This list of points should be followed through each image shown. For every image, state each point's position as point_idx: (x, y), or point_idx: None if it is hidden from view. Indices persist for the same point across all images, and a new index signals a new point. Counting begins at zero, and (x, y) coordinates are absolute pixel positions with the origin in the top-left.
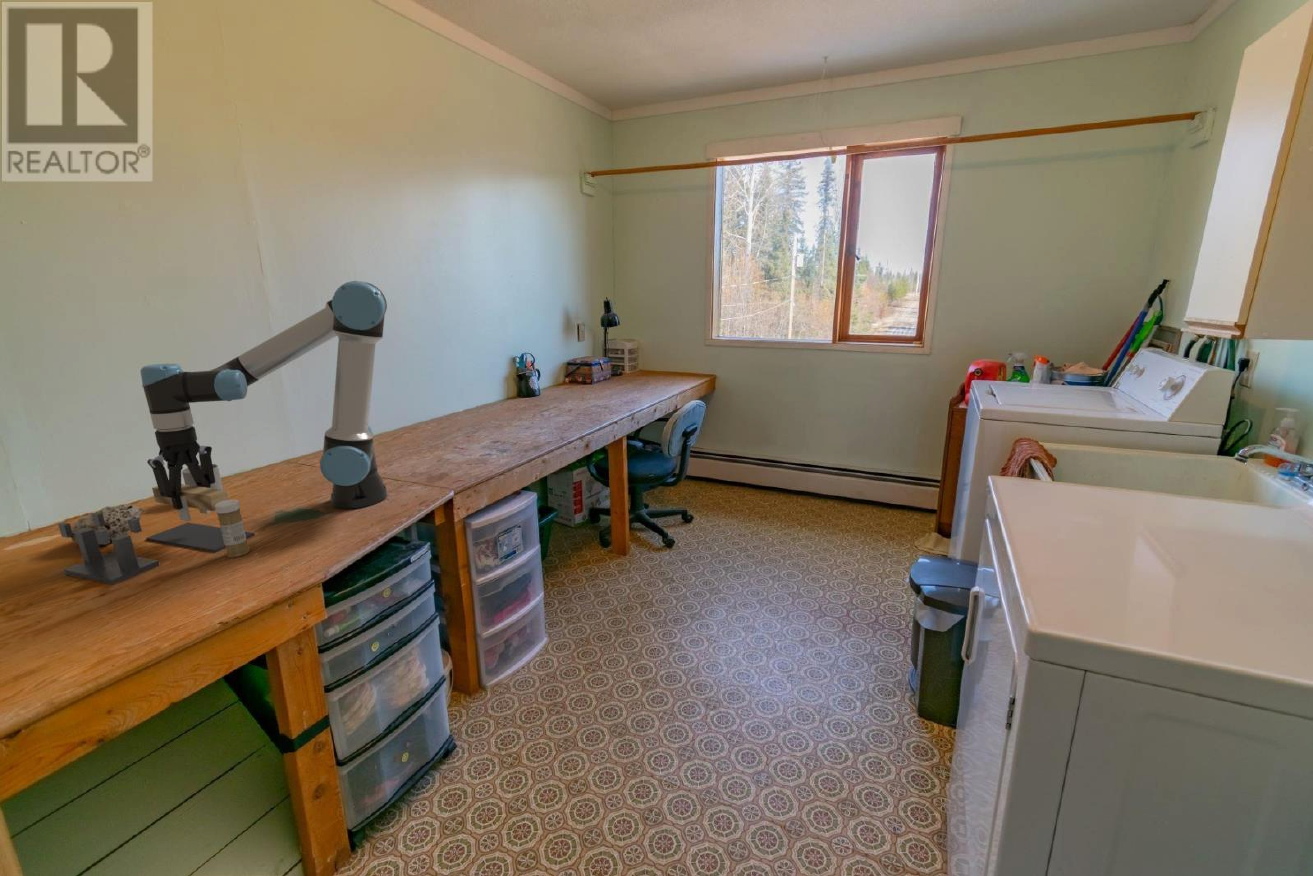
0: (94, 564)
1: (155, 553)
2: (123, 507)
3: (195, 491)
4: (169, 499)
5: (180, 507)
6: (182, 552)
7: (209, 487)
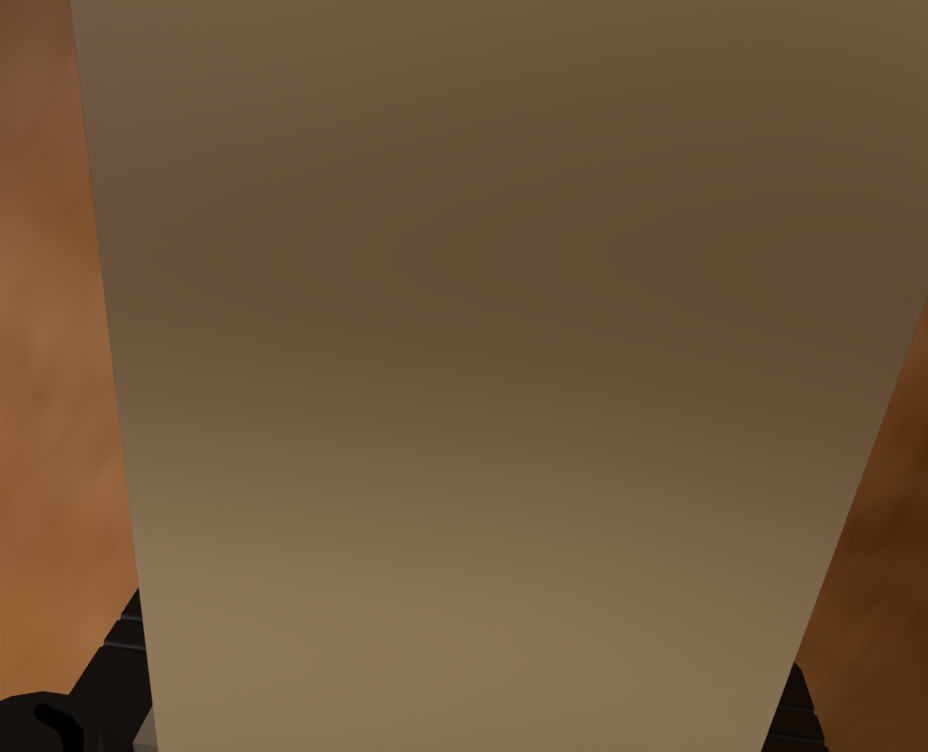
0: None
1: (905, 446)
2: None
3: (571, 729)
4: None
5: None
6: None
7: (21, 712)
